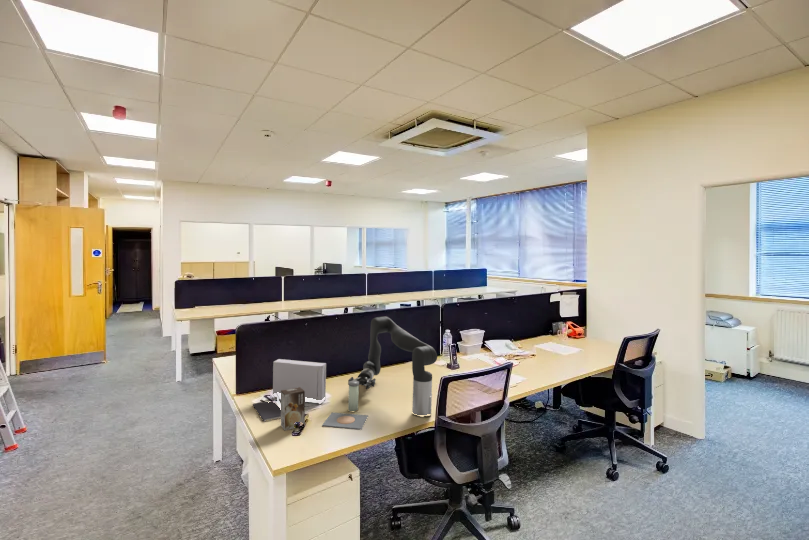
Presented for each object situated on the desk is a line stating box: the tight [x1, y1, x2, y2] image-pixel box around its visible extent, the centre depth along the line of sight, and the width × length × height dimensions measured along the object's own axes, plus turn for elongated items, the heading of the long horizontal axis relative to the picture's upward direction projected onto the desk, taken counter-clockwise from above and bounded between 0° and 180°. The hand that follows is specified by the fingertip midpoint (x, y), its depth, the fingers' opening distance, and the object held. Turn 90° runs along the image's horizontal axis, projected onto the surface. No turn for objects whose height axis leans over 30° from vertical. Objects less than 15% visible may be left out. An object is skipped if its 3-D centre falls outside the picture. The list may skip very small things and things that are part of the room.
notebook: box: [252, 401, 281, 422], centre depth 186 cm, size 13×2×21 cm
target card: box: [321, 411, 369, 430], centre depth 177 cm, size 18×14×1 cm
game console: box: [272, 358, 327, 400], centre depth 200 cm, size 6×27×20 cm, turn 78°
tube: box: [347, 380, 360, 412], centre depth 190 cm, size 5×5×14 cm
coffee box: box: [280, 387, 306, 431], centre depth 170 cm, size 9×6×16 cm
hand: (358, 386), depth 200 cm, fingers open, 8 cm apart
